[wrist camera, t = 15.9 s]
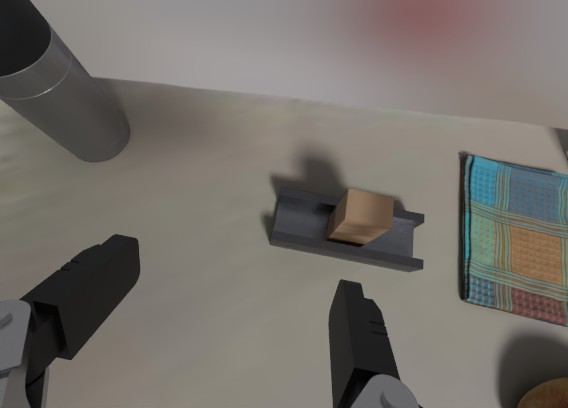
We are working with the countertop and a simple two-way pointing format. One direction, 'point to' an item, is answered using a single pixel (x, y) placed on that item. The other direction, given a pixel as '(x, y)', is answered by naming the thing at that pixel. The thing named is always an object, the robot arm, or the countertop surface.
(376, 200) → the tan wooden pillar block
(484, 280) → the dish towel
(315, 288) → the countertop surface
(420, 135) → the countertop surface
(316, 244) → the floor track
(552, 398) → the bread roll
